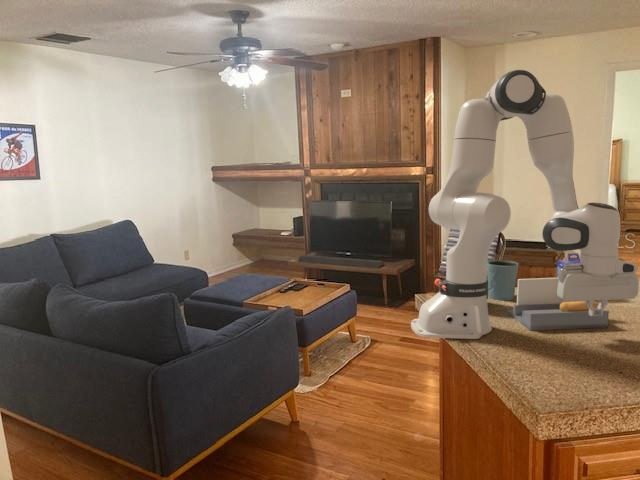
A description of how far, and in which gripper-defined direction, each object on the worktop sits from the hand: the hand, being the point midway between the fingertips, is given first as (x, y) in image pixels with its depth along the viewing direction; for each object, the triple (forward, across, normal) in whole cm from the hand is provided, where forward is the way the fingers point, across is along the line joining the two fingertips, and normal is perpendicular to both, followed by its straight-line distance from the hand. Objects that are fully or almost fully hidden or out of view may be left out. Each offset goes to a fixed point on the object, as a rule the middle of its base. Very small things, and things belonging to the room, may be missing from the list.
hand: (595, 315), depth 136 cm
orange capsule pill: (0, 0, +8) cm, 8 cm away
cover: (-2, -4, +17) cm, 17 cm away
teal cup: (+6, -10, +40) cm, 41 cm away
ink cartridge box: (+6, +14, +38) cm, 41 cm away
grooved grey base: (+6, -4, +14) cm, 15 cm away
